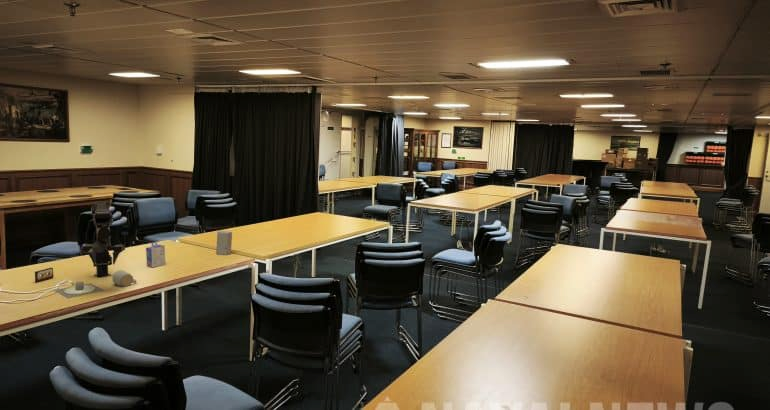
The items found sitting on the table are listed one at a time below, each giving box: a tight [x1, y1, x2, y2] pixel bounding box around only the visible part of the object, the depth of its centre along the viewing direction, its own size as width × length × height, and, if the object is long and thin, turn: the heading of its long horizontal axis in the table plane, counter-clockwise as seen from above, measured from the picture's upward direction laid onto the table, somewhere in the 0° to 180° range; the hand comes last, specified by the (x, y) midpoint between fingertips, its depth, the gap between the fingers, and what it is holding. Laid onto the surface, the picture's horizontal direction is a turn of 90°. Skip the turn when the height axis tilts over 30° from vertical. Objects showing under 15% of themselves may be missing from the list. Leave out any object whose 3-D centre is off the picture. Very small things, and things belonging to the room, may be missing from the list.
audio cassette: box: [34, 267, 55, 283], centre depth 251 cm, size 9×1×6 cm, turn 164°
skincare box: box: [215, 230, 233, 256], centre depth 324 cm, size 8×7×16 cm
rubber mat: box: [54, 282, 106, 299], centre depth 237 cm, size 17×17×1 cm
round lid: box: [64, 281, 95, 295], centre depth 237 cm, size 13×13×4 cm
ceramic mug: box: [111, 269, 138, 287], centre depth 251 cm, size 11×8×8 cm
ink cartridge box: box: [145, 241, 166, 268], centre depth 288 cm, size 10×6×14 cm, turn 155°
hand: (104, 264), depth 241 cm, fingers open, 9 cm apart
